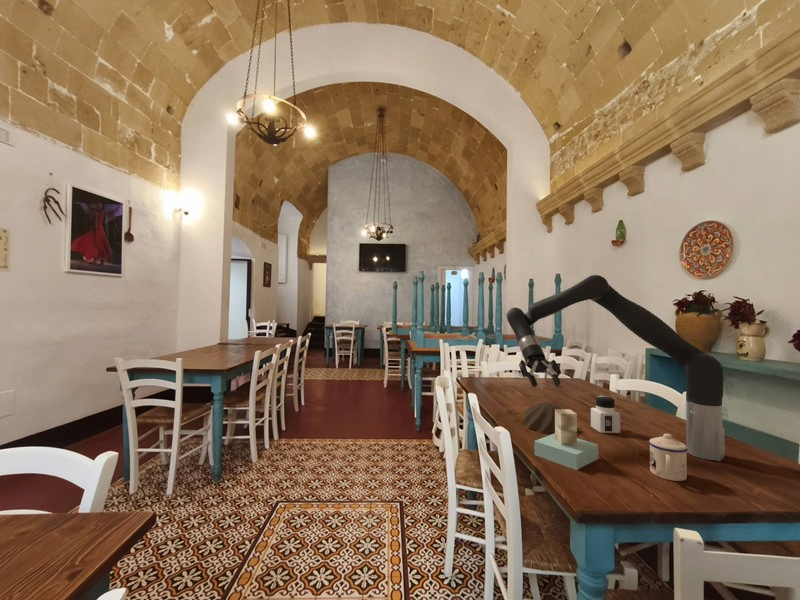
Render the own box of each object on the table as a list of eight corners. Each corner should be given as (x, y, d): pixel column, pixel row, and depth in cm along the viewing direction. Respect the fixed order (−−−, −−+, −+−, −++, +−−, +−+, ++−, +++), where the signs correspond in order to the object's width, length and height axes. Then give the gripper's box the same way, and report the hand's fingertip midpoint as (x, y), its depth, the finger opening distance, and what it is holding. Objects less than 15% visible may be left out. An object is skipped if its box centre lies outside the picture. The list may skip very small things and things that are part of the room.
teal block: (598, 459, 118) (598, 444, 118) (576, 471, 109) (576, 454, 109) (557, 446, 129) (557, 432, 129) (534, 456, 120) (534, 440, 120)
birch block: (570, 439, 122) (570, 409, 122) (577, 445, 117) (576, 413, 117) (554, 439, 122) (555, 409, 122) (561, 445, 117) (561, 413, 117)
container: (620, 433, 142) (620, 399, 142) (600, 433, 142) (600, 399, 142) (609, 426, 149) (609, 394, 149) (590, 426, 149) (590, 394, 150)
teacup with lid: (649, 465, 113) (649, 427, 113) (686, 473, 108) (686, 433, 108) (648, 480, 103) (648, 438, 103) (689, 489, 98) (689, 445, 98)
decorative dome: (515, 428, 148) (515, 403, 148) (531, 416, 163) (531, 394, 164) (566, 438, 136) (566, 411, 136) (579, 425, 151) (578, 401, 152)
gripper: (517, 343, 139) (531, 380, 127) (552, 343, 141) (569, 379, 129) (510, 355, 144) (524, 391, 132) (544, 355, 146) (561, 390, 134)
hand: (546, 385), depth 131 cm, fingers open, 8 cm apart
